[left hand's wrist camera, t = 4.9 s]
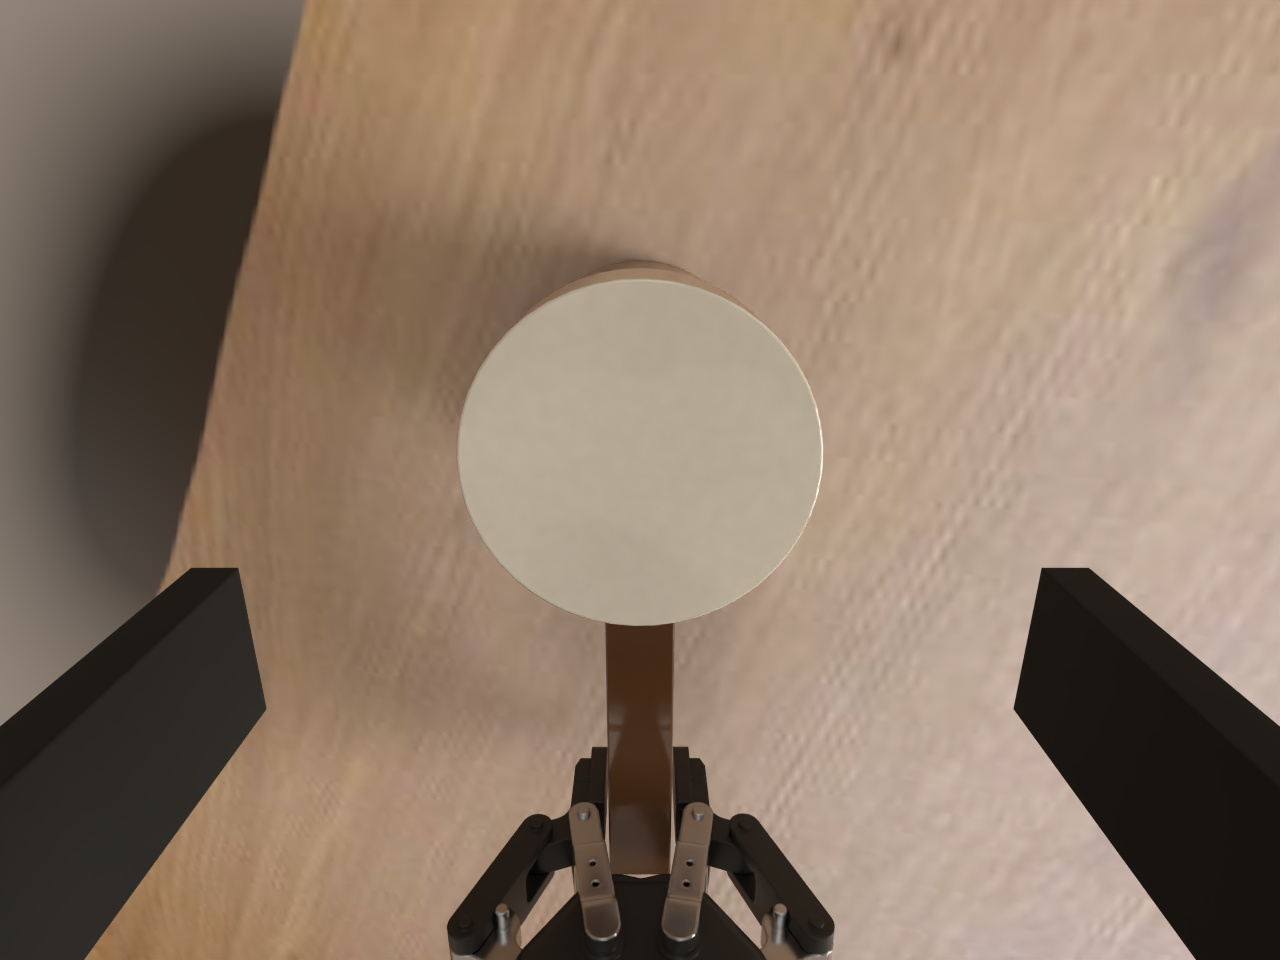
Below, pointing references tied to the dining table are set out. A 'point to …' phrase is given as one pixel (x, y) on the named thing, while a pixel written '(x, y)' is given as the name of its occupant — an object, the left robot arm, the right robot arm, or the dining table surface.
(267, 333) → the dining table surface
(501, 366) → the lid
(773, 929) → the right robot arm
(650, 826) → the mallet
